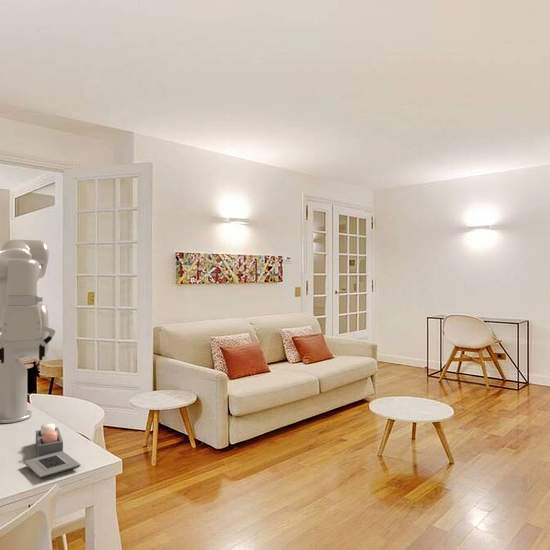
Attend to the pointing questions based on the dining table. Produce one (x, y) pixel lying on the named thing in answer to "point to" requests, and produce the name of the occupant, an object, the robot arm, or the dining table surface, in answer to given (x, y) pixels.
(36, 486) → the dining table surface
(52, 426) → the white button
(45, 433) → the pink button
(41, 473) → the electrical outlet
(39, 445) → the button console
